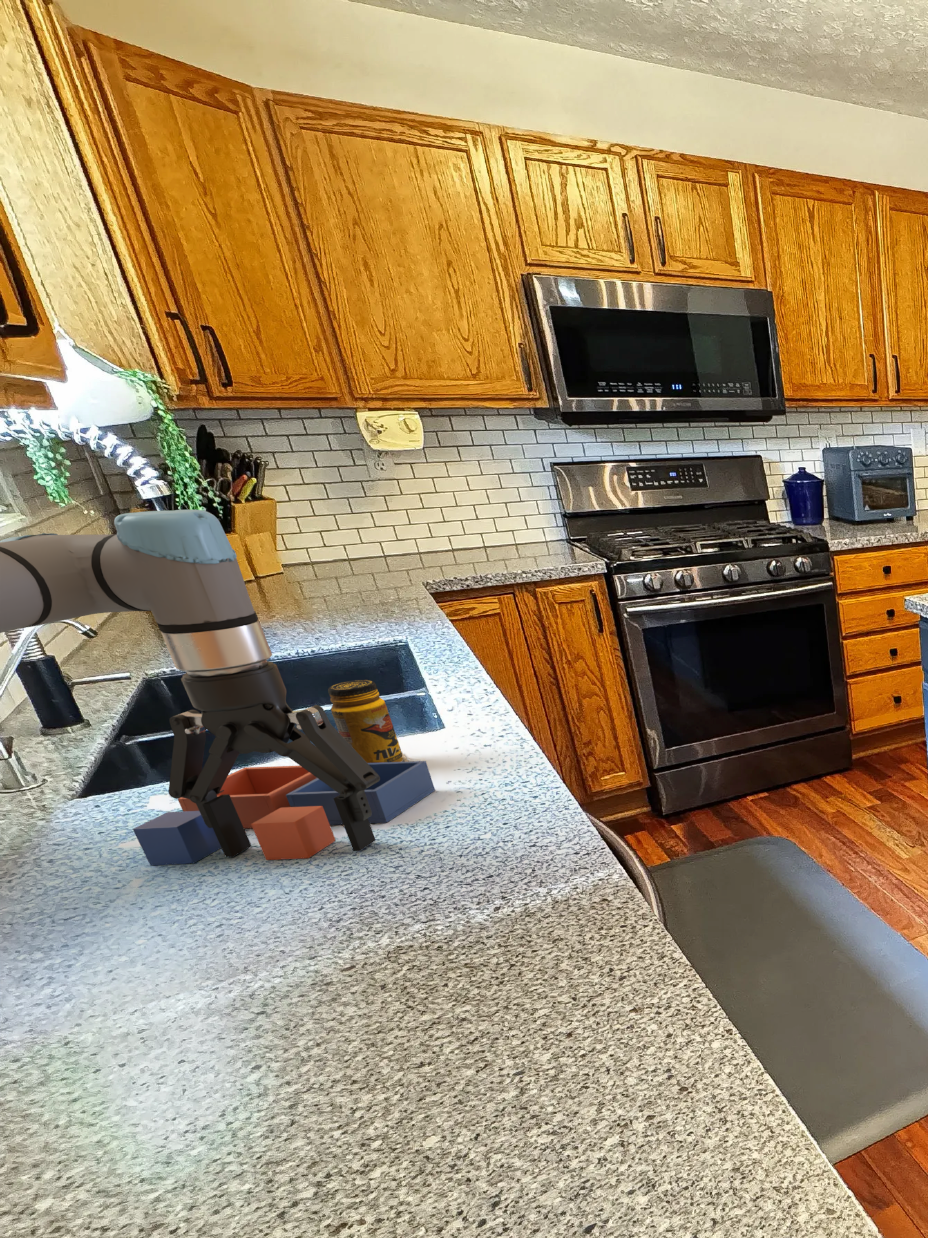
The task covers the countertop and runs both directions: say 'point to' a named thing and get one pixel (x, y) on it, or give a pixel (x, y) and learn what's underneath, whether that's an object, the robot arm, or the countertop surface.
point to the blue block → (176, 838)
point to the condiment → (365, 721)
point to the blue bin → (373, 791)
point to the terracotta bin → (259, 790)
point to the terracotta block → (293, 832)
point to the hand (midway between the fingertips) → (302, 849)
